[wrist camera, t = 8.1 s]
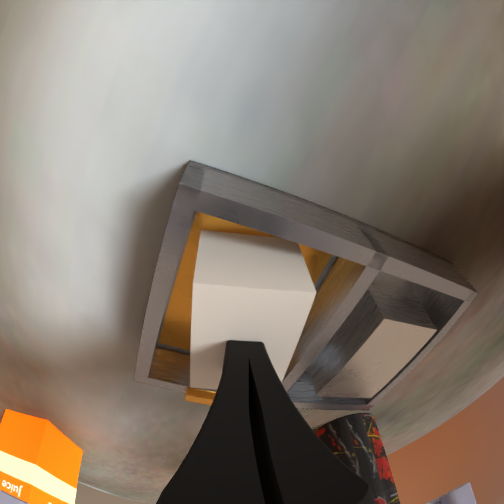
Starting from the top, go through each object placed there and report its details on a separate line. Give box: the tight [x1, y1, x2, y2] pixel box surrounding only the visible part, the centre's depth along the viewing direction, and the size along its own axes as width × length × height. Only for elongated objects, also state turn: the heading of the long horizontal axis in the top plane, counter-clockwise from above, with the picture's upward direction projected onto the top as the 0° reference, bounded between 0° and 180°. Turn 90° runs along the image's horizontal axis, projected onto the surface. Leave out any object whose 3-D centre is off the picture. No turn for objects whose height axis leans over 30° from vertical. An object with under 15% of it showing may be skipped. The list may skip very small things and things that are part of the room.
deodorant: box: [317, 413, 400, 504], centre depth 19 cm, size 6×6×15 cm
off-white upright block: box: [190, 230, 316, 389], centre depth 13 cm, size 4×6×4 cm, turn 171°
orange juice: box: [0, 409, 83, 504], centre depth 17 cm, size 8×9×20 cm
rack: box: [134, 160, 478, 410], centre depth 14 cm, size 15×11×3 cm
